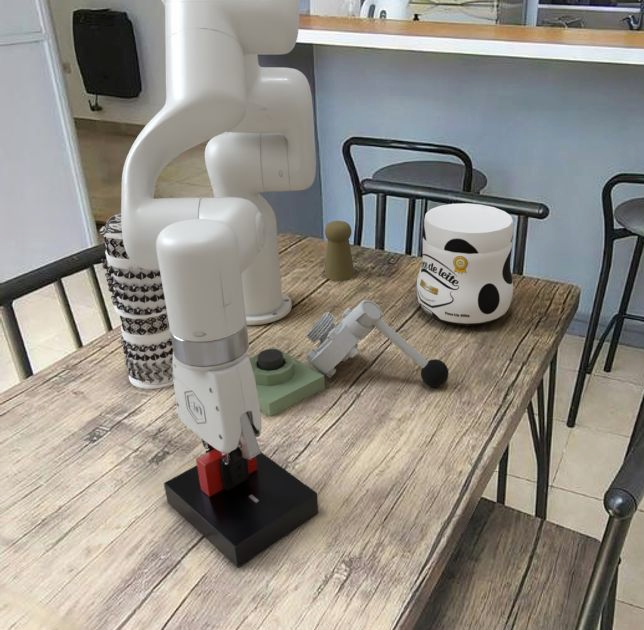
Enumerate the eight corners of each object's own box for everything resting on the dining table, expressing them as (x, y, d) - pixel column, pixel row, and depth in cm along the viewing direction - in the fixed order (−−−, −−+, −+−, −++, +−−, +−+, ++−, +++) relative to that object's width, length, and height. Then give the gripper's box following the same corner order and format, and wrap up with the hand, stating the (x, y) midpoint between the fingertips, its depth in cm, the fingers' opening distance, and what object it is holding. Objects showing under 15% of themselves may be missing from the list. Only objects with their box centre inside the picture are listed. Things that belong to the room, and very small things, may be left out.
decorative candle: (177, 392, 99) (150, 230, 88) (115, 388, 100) (79, 227, 88) (199, 359, 107) (176, 208, 96) (141, 356, 108) (112, 205, 96)
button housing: (221, 383, 102) (217, 360, 100) (275, 358, 108) (273, 336, 106) (270, 416, 95) (268, 392, 93) (325, 387, 101) (324, 365, 99)
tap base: (165, 501, 80) (161, 480, 78) (244, 457, 87) (242, 437, 85) (237, 568, 71) (234, 546, 70) (318, 512, 78) (317, 491, 77)
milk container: (402, 324, 119) (404, 227, 111) (432, 284, 134) (435, 196, 126) (499, 341, 115) (508, 241, 106) (518, 299, 129) (528, 208, 121)
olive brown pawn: (343, 266, 141) (342, 215, 136) (360, 275, 137) (359, 224, 132) (318, 273, 138) (316, 221, 133) (335, 283, 134) (333, 230, 129)
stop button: (253, 365, 100) (252, 355, 99) (273, 356, 102) (272, 346, 101) (268, 374, 98) (267, 364, 97) (288, 365, 100) (287, 354, 99)
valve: (382, 443, 105) (445, 396, 97) (284, 360, 101) (341, 303, 93) (401, 402, 113) (461, 355, 105) (311, 324, 110) (365, 269, 102)
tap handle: (209, 497, 76) (204, 464, 74) (200, 489, 77) (195, 456, 75) (257, 469, 80) (254, 437, 78) (248, 462, 81) (244, 430, 79)
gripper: (137, 326, 72) (163, 462, 81) (223, 384, 63) (242, 531, 71) (200, 304, 77) (218, 434, 86) (288, 354, 68) (299, 495, 76)
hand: (229, 477), depth 79 cm, fingers closed on tap handle, 2 cm apart
